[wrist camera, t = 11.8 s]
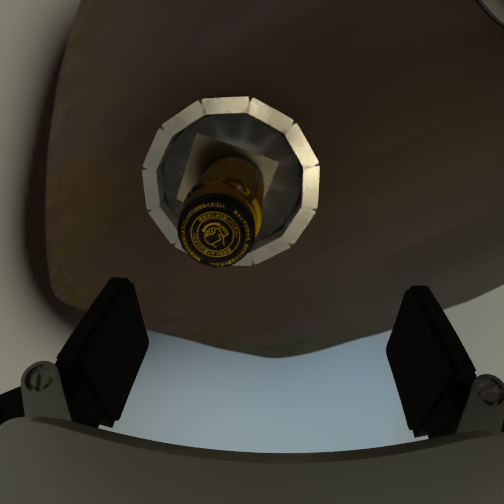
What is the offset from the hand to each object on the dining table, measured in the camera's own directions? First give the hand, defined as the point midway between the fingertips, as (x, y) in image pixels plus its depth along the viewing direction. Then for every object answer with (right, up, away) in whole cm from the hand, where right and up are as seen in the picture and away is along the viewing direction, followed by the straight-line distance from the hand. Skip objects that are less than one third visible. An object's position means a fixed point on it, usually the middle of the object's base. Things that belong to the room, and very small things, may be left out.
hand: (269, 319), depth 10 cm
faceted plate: (-3, +9, +21) cm, 23 cm away
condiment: (-3, +9, +20) cm, 23 cm away
